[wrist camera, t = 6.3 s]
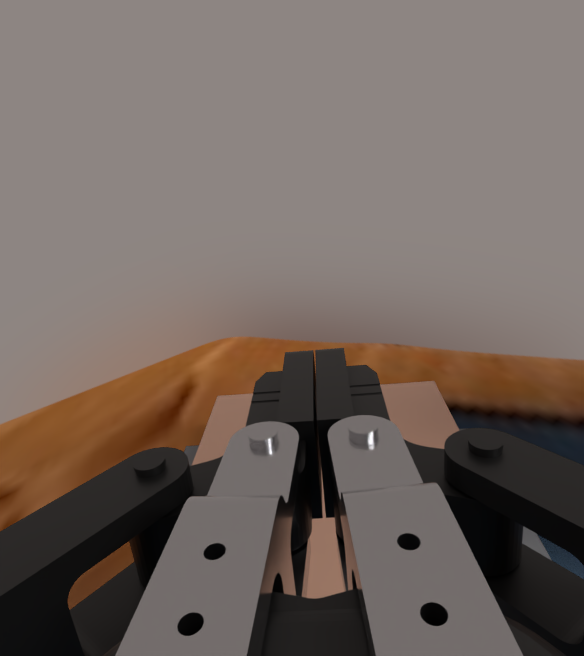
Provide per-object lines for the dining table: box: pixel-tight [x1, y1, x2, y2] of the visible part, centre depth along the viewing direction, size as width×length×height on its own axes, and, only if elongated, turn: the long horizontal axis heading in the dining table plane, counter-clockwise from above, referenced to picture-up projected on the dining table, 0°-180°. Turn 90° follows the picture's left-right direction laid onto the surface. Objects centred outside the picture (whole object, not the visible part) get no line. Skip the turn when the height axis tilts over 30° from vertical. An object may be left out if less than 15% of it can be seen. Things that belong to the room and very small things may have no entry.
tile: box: [192, 381, 459, 599], centre depth 21 cm, size 2×12×15 cm
